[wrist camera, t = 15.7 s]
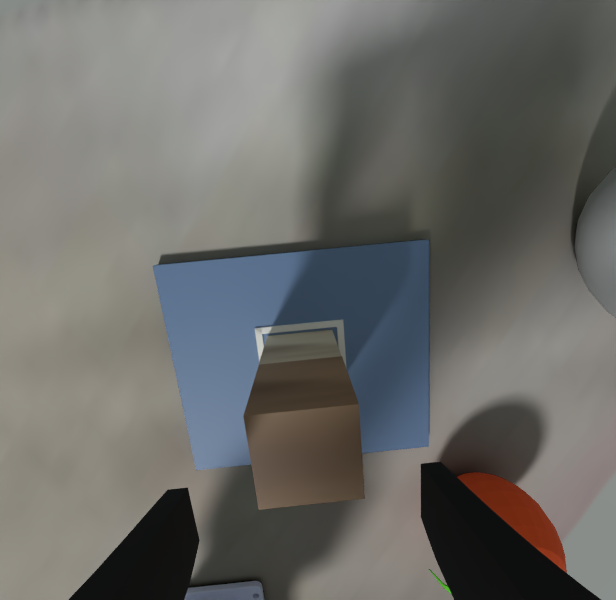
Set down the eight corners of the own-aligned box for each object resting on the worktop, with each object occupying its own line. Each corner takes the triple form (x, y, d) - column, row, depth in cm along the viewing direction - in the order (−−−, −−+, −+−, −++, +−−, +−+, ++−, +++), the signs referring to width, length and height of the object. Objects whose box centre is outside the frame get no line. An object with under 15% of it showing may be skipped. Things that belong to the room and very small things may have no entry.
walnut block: (347, 428, 15) (364, 498, 11) (269, 436, 15) (258, 509, 11) (341, 356, 14) (359, 404, 10) (258, 364, 14) (243, 415, 10)
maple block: (336, 388, 19) (346, 428, 15) (274, 394, 19) (268, 436, 15) (332, 329, 18) (341, 356, 14) (267, 335, 18) (258, 364, 14)
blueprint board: (424, 440, 20) (429, 447, 20) (199, 463, 20) (195, 471, 20) (424, 239, 17) (429, 239, 17) (157, 264, 17) (151, 265, 16)
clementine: (411, 538, 22) (461, 673, 16) (394, 465, 21) (442, 580, 14) (512, 514, 22) (609, 640, 15) (503, 438, 21) (606, 542, 14)
